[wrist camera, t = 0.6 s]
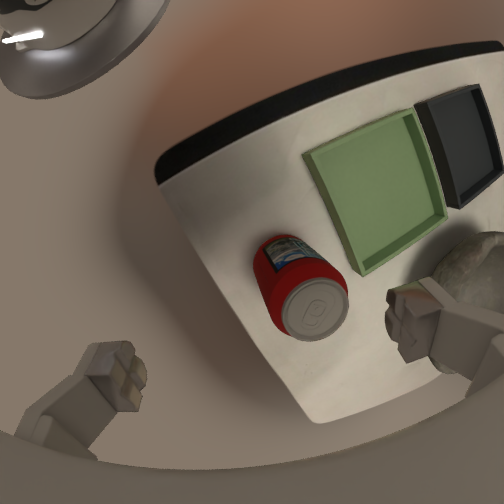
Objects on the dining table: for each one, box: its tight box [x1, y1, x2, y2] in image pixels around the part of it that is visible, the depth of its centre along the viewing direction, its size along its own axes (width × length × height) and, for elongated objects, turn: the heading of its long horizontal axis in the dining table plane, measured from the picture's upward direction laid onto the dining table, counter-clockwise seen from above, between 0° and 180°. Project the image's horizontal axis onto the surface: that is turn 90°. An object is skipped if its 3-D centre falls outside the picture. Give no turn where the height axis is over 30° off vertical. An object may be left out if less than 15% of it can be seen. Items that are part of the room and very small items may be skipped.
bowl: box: [428, 231, 504, 374], centre depth 32 cm, size 23×22×10 cm
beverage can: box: [253, 235, 349, 342], centre depth 26 cm, size 7×7×12 cm
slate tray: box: [414, 84, 504, 210], centre depth 29 cm, size 15×15×3 cm
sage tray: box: [302, 108, 448, 277], centre depth 29 cm, size 15×15×3 cm
